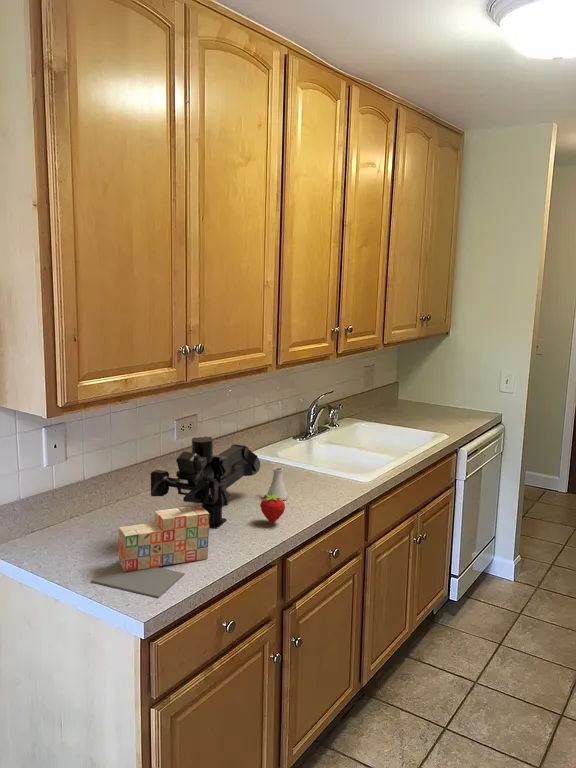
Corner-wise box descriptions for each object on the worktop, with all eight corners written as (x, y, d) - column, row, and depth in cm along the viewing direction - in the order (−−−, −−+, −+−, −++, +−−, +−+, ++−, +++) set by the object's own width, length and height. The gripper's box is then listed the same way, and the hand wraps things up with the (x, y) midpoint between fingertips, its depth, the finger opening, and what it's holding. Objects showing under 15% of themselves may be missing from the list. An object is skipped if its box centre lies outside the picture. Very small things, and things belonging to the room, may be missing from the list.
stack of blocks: (124, 572, 154) (125, 523, 152) (118, 562, 160) (118, 515, 158) (208, 558, 164) (209, 512, 162) (199, 549, 170) (201, 504, 168)
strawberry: (279, 529, 184) (280, 496, 182) (256, 524, 187) (257, 491, 185) (287, 522, 190) (289, 490, 188) (264, 517, 192) (265, 485, 191)
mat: (120, 560, 162) (120, 559, 161) (184, 574, 156) (184, 573, 156) (91, 582, 150) (90, 580, 150) (158, 597, 145) (158, 596, 144)
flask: (280, 504, 204) (282, 473, 202) (261, 499, 208) (262, 469, 206) (292, 497, 210) (293, 468, 208) (273, 492, 214) (274, 463, 212)
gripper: (166, 445, 176) (134, 461, 162) (228, 453, 170) (201, 471, 156) (166, 484, 179) (135, 502, 164) (228, 493, 172) (201, 514, 158)
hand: (167, 496), depth 160 cm, fingers open, 9 cm apart
